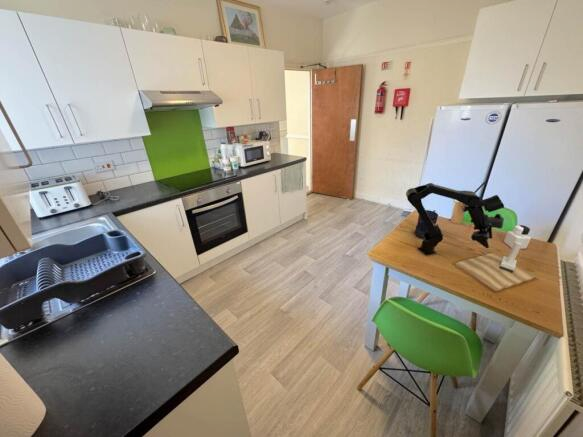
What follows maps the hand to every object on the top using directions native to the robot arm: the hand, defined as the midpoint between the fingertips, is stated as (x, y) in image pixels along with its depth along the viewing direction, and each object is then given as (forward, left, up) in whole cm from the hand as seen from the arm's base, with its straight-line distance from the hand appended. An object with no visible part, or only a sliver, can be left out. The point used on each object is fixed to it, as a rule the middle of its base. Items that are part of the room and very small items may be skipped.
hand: (489, 243), depth 118 cm
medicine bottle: (+31, +5, -12) cm, 33 cm away
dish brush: (+5, -8, -10) cm, 14 cm away
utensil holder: (+26, +37, -12) cm, 46 cm away
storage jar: (-8, +31, -12) cm, 34 cm away
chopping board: (-2, -7, -11) cm, 14 cm away
